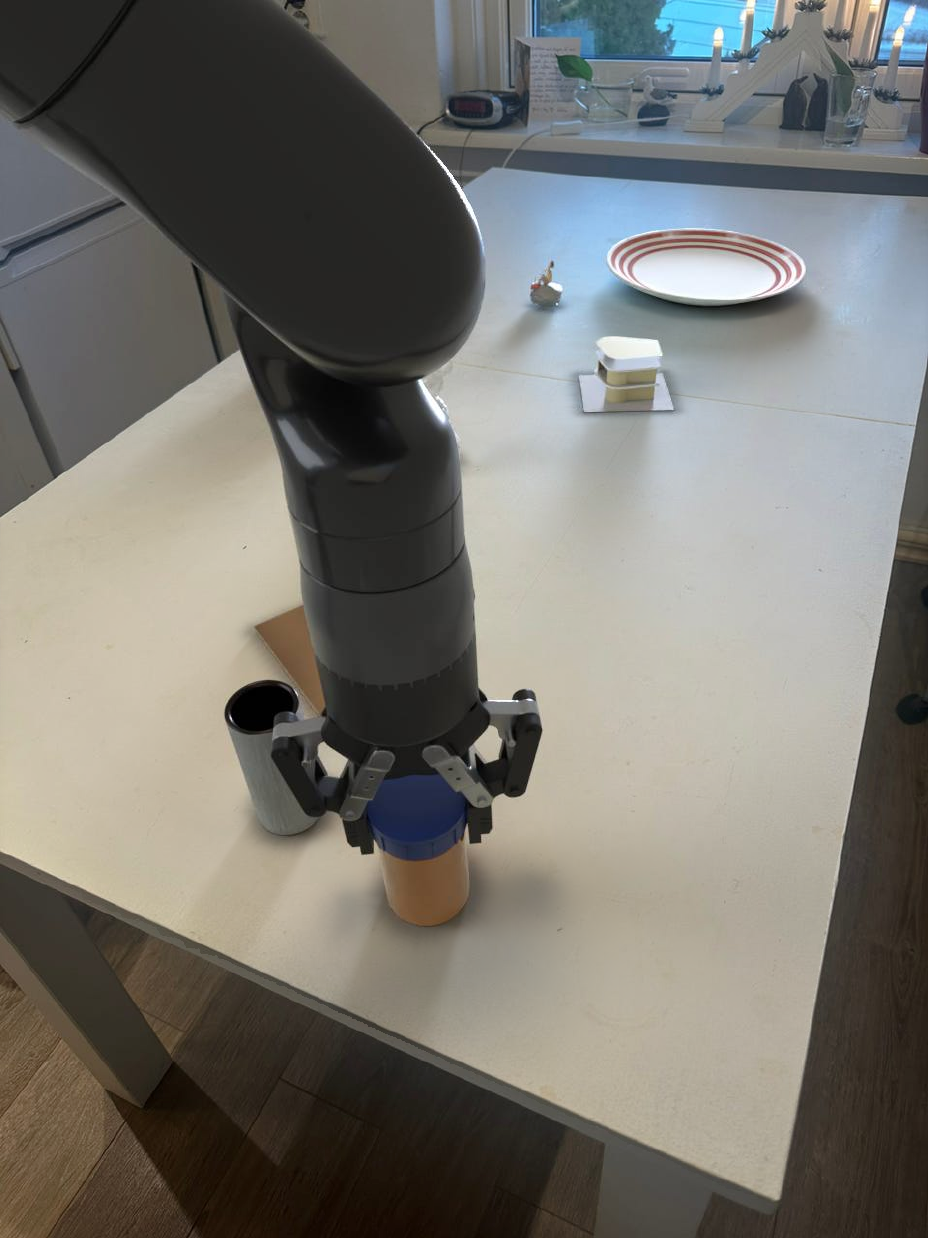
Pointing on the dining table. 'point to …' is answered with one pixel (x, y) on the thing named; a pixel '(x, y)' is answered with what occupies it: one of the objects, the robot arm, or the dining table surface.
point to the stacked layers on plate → (626, 377)
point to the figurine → (546, 290)
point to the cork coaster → (294, 653)
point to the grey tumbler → (265, 752)
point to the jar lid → (417, 816)
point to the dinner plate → (705, 266)
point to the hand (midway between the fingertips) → (421, 835)
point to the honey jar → (427, 885)
